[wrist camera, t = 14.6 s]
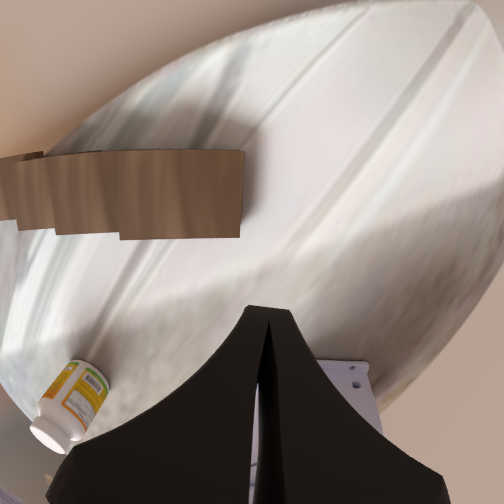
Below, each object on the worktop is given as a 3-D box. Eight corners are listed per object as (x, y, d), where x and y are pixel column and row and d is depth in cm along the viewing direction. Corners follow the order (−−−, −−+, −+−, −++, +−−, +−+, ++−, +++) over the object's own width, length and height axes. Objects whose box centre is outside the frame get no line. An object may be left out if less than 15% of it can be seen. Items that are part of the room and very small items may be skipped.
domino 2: (94, 150, 16) (11, 163, 15) (98, 225, 18) (18, 230, 16) (101, 150, 18) (21, 161, 16) (104, 219, 19) (27, 224, 18)
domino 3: (158, 149, 16) (50, 157, 14) (158, 230, 18) (55, 235, 16) (159, 148, 17) (59, 155, 15) (158, 223, 19) (63, 228, 17)
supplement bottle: (72, 382, 27) (32, 439, 18) (66, 350, 25) (16, 411, 16) (112, 401, 27) (76, 466, 18) (109, 370, 25) (64, 441, 16)
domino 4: (244, 151, 16) (117, 151, 14) (239, 237, 17) (119, 240, 16) (238, 150, 17) (122, 150, 15) (234, 229, 19) (124, 231, 17)
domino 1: (35, 152, 16) (-27, 164, 14) (38, 217, 18) (-22, 223, 16) (43, 151, 18) (-18, 162, 16) (46, 212, 19) (-13, 218, 18)
